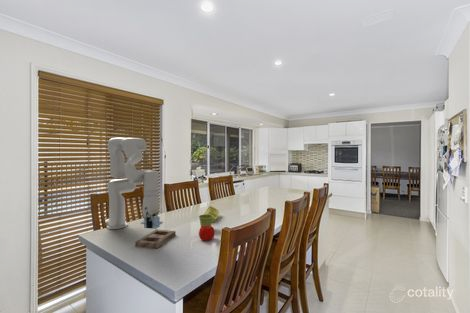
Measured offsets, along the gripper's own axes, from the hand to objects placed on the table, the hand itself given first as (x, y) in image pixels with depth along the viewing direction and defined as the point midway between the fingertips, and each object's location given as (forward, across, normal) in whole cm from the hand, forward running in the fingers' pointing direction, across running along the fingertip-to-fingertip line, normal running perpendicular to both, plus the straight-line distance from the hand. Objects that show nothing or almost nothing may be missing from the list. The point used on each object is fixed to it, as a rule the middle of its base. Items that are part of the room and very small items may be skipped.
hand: (151, 226), depth 128 cm
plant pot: (+10, -29, +21) cm, 37 cm away
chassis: (+10, -5, 0) cm, 11 cm away
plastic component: (+10, -52, +16) cm, 56 cm away
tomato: (+10, -13, +27) cm, 32 cm away
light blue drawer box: (+1, 0, 0) cm, 1 cm away
